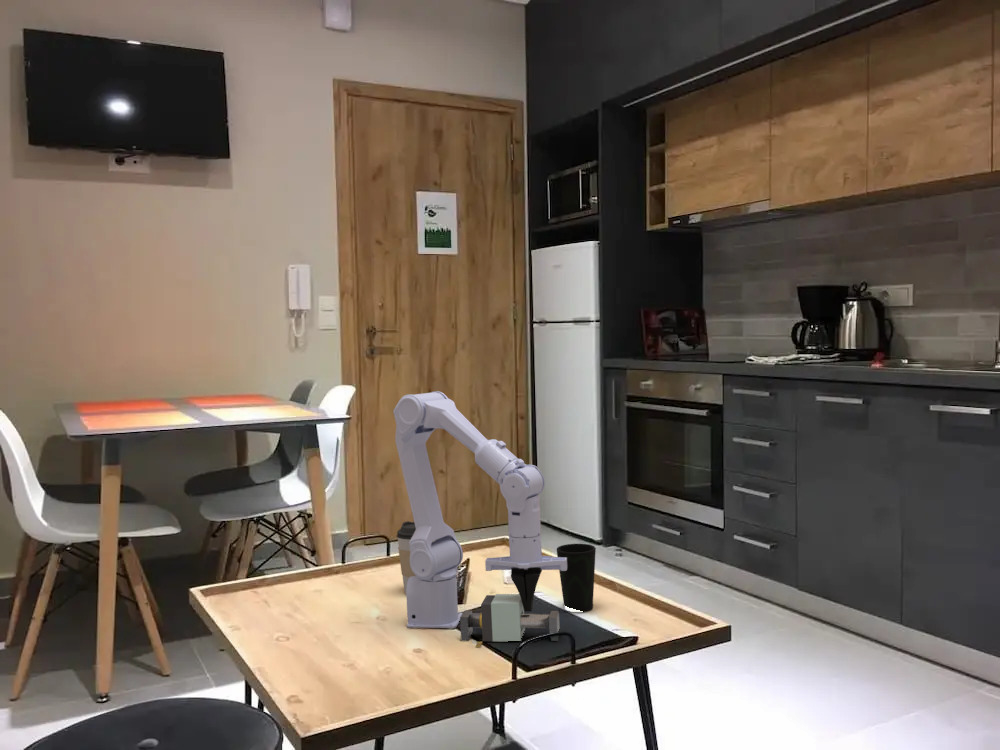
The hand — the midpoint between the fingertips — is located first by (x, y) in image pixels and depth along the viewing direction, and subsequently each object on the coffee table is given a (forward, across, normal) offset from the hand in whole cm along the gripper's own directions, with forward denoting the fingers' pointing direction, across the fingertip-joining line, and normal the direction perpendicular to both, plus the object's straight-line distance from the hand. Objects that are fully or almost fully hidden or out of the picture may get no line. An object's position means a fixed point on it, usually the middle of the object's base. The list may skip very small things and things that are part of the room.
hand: (528, 609), depth 155 cm
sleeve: (+5, -4, 0) cm, 6 cm away
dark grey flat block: (+5, -7, 0) cm, 9 cm away
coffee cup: (+5, -27, +28) cm, 40 cm away
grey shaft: (+5, -3, -2) cm, 6 cm away
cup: (+5, +8, +17) cm, 19 cm away
